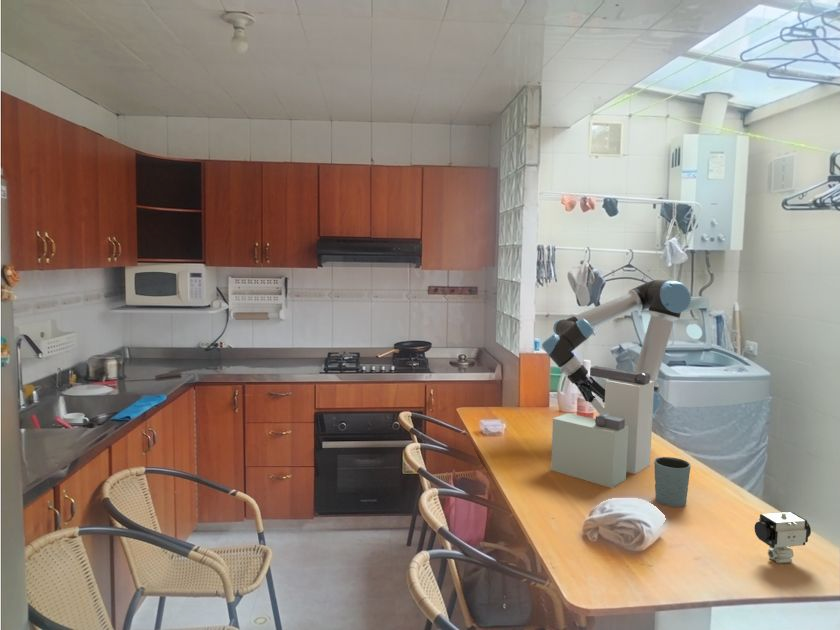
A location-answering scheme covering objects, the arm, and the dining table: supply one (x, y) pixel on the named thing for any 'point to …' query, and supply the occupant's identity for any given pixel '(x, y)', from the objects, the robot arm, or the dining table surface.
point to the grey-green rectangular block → (590, 448)
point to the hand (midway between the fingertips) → (610, 413)
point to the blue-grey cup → (671, 481)
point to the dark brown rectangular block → (620, 375)
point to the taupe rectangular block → (633, 418)
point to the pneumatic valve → (782, 534)
